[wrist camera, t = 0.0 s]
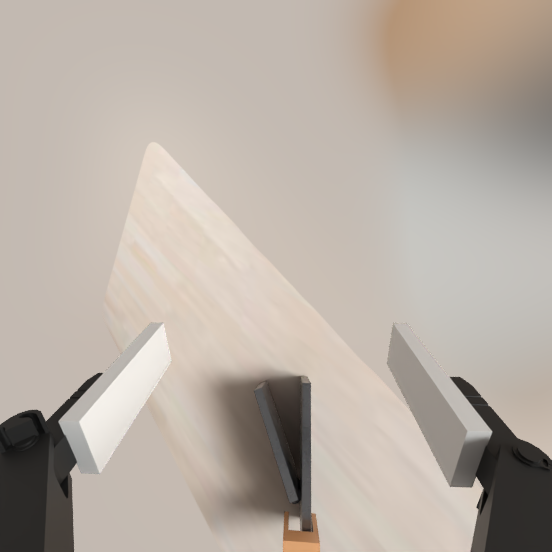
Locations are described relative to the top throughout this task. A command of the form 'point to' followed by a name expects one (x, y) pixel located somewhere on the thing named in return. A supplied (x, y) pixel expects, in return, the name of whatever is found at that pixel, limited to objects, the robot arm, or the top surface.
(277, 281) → the top surface
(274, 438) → the tongs hinged arm
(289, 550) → the orange slotted clip
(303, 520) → the arm
